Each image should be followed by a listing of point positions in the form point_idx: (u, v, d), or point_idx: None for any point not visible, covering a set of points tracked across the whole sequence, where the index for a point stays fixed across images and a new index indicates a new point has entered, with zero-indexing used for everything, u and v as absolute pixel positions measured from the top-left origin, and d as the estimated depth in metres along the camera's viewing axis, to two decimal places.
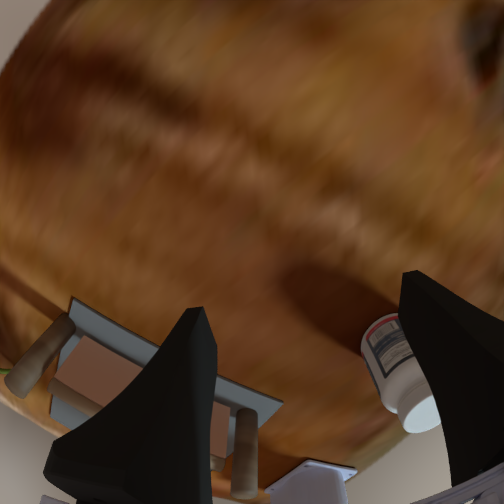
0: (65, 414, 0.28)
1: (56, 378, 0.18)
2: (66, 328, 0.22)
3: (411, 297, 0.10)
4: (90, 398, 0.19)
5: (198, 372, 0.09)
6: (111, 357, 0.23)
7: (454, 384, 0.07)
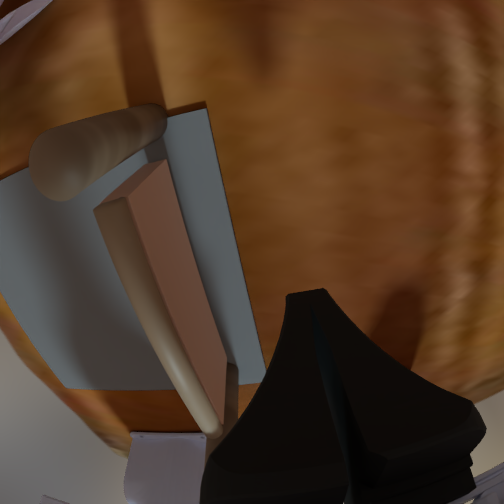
0: None
1: (128, 203, 0.10)
2: (159, 131, 0.14)
3: None
4: (154, 273, 0.12)
5: None
6: (178, 218, 0.16)
7: (337, 417, 0.07)
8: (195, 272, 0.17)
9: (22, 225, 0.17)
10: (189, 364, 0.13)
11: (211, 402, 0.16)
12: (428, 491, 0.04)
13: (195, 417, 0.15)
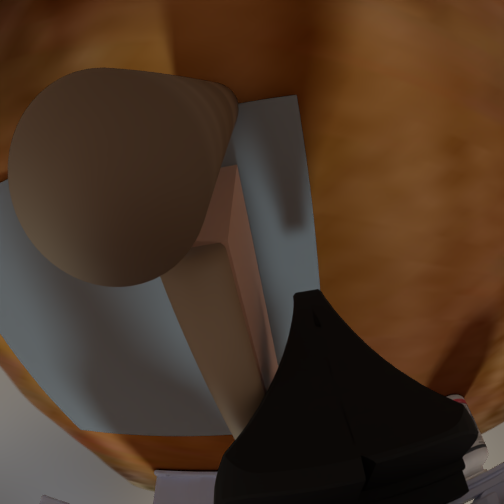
0: None
1: (227, 253, 0.06)
2: None
3: None
4: (255, 359, 0.07)
5: None
6: (253, 250, 0.11)
7: None
8: (267, 319, 0.13)
9: (18, 250, 0.12)
10: None
11: None
12: (419, 494, 0.04)
13: None
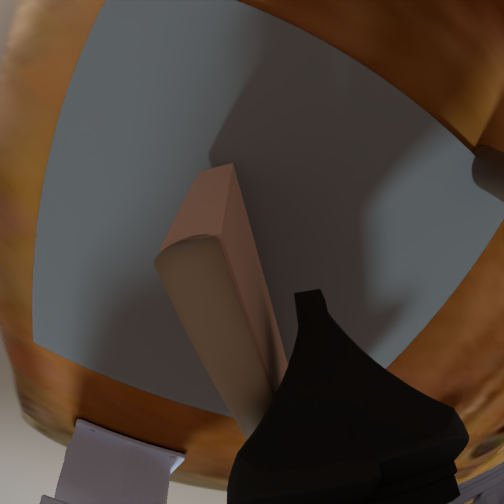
0: (165, 29, 0.09)
1: (221, 245, 0.06)
2: None
3: (298, 319, 0.10)
4: (258, 352, 0.07)
5: None
6: (254, 247, 0.11)
7: None
8: (273, 315, 0.13)
9: (233, 100, 0.10)
10: None
11: None
12: (409, 498, 0.04)
13: None
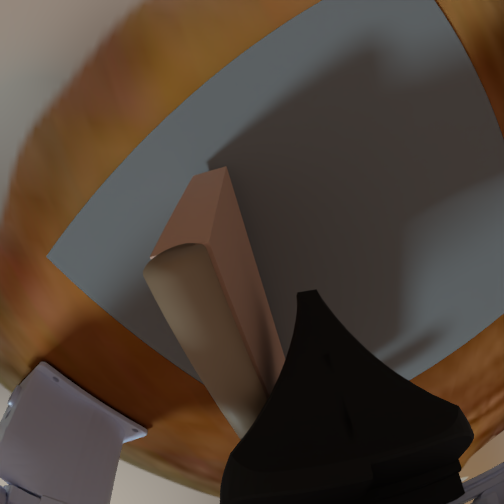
0: (415, 35, 0.08)
1: (210, 253, 0.06)
2: None
3: None
4: (251, 356, 0.07)
5: None
6: (249, 250, 0.11)
7: None
8: (270, 317, 0.13)
9: (432, 125, 0.10)
10: None
11: None
12: (414, 496, 0.04)
13: None
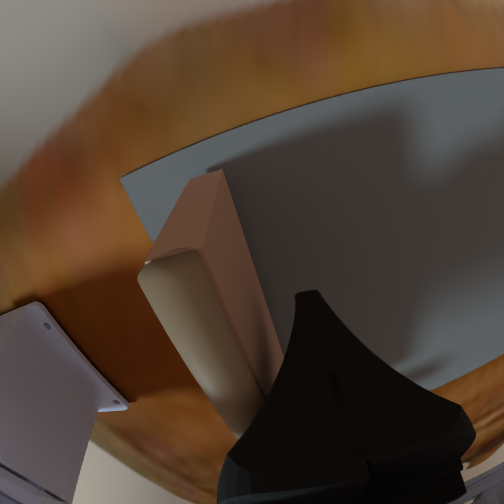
0: None
1: (203, 258, 0.06)
2: None
3: None
4: (247, 359, 0.07)
5: None
6: (246, 252, 0.11)
7: None
8: (269, 318, 0.13)
9: None
10: None
11: None
12: (417, 495, 0.04)
13: None
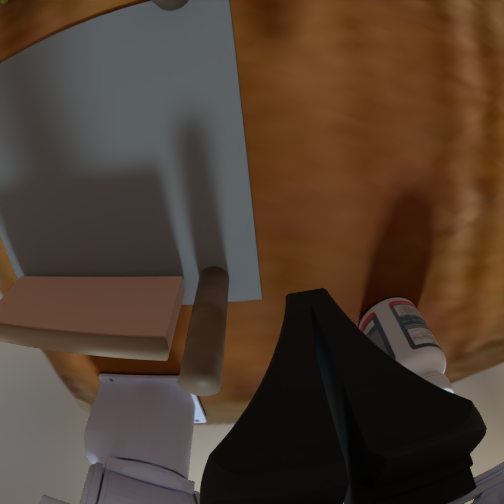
0: None
1: None
2: None
3: None
4: (12, 324, 0.16)
5: None
6: (43, 281, 0.20)
7: (337, 417, 0.07)
8: (78, 281, 0.20)
9: (23, 99, 0.14)
10: (62, 334, 0.15)
11: (122, 334, 0.16)
12: (428, 491, 0.04)
13: (121, 357, 0.15)
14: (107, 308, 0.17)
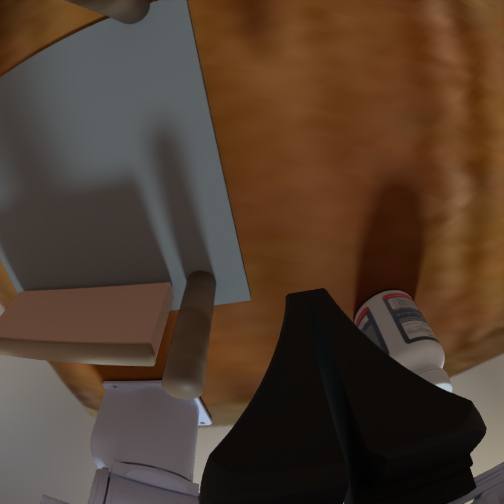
0: None
1: None
2: (141, 6, 0.12)
3: None
4: (11, 338, 0.16)
5: None
6: (40, 295, 0.20)
7: (337, 417, 0.07)
8: (72, 293, 0.20)
9: (6, 123, 0.15)
10: (56, 345, 0.16)
11: (110, 342, 0.16)
12: (428, 491, 0.04)
13: (111, 364, 0.15)
14: (98, 317, 0.18)
